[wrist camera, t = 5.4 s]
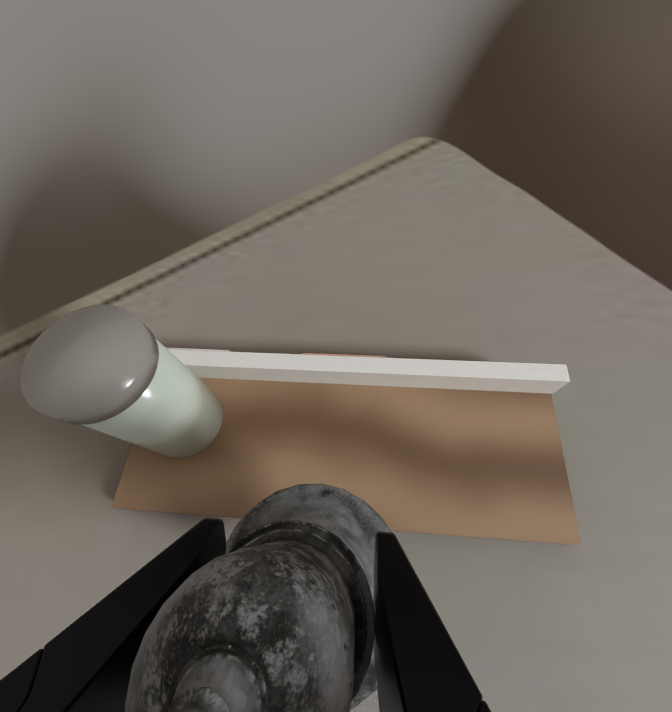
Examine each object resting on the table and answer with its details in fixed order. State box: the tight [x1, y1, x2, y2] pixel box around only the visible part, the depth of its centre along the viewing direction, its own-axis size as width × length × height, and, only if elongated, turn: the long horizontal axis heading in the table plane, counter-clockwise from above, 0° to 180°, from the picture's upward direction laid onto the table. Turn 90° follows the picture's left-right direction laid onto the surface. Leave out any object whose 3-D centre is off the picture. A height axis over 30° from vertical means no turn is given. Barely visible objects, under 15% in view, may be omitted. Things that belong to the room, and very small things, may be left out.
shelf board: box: [111, 378, 581, 545], centre depth 21 cm, size 9×25×1 cm, turn 86°
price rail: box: [167, 348, 570, 394], centre depth 22 cm, size 1×25×3 cm, turn 86°
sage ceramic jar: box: [20, 305, 223, 458], centre depth 18 cm, size 5×5×9 cm
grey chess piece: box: [125, 483, 391, 712], centre depth 8 cm, size 6×6×12 cm
